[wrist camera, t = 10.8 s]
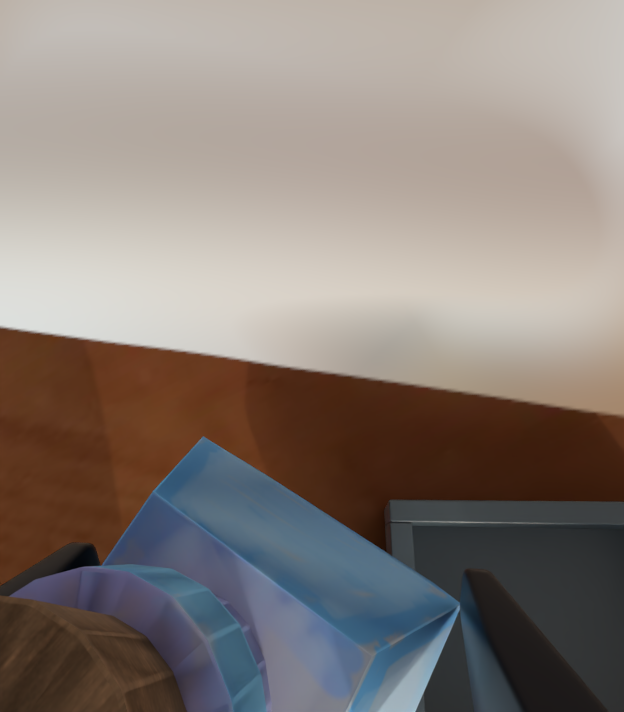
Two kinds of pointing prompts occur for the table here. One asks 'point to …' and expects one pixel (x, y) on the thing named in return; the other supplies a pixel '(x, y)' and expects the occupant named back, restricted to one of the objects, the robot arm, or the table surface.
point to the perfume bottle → (225, 610)
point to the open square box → (524, 580)
